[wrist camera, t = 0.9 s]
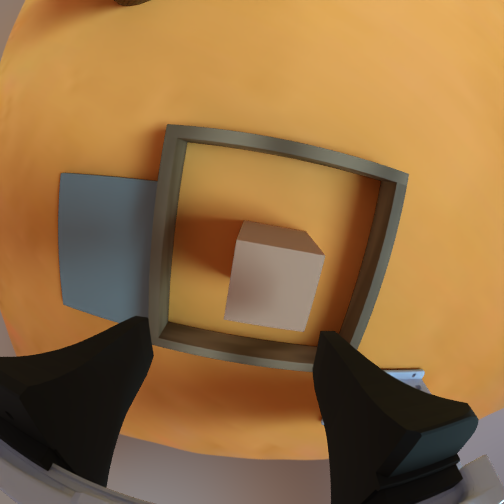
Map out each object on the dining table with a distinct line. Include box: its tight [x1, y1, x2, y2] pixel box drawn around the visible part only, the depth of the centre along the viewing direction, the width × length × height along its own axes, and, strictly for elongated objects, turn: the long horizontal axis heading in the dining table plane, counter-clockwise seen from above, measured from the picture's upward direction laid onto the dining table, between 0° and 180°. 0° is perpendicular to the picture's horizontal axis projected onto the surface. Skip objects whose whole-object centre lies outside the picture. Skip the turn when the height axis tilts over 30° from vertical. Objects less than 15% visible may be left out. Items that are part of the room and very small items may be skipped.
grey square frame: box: [148, 124, 409, 372], centre depth 18 cm, size 16×16×2 cm
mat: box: [58, 173, 158, 323], centre depth 19 cm, size 10×12×1 cm
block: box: [224, 220, 325, 332], centre depth 17 cm, size 4×4×6 cm
